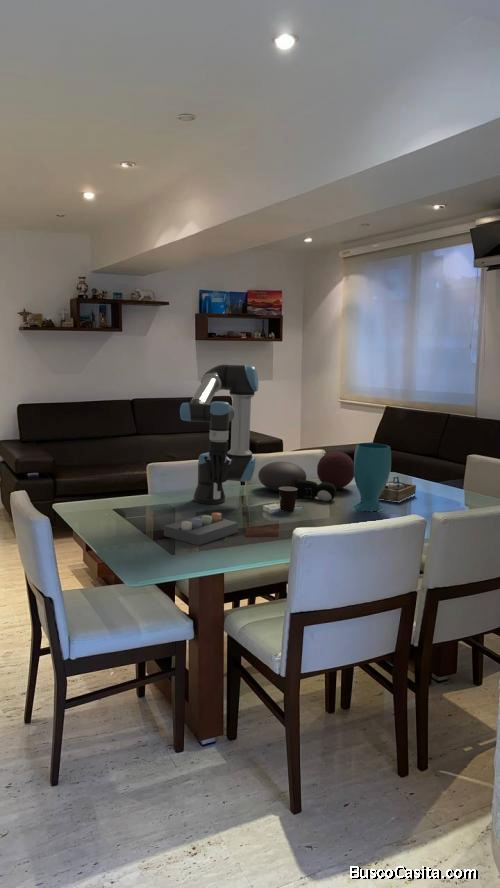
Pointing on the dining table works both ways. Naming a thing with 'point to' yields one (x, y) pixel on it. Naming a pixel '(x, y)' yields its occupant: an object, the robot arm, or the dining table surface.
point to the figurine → (315, 490)
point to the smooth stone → (280, 475)
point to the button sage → (206, 519)
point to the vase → (371, 473)
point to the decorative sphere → (336, 469)
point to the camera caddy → (398, 493)
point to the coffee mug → (287, 498)
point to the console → (201, 531)
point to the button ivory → (186, 525)
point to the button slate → (196, 522)
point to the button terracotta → (216, 517)
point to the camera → (395, 485)
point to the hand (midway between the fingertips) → (216, 498)
